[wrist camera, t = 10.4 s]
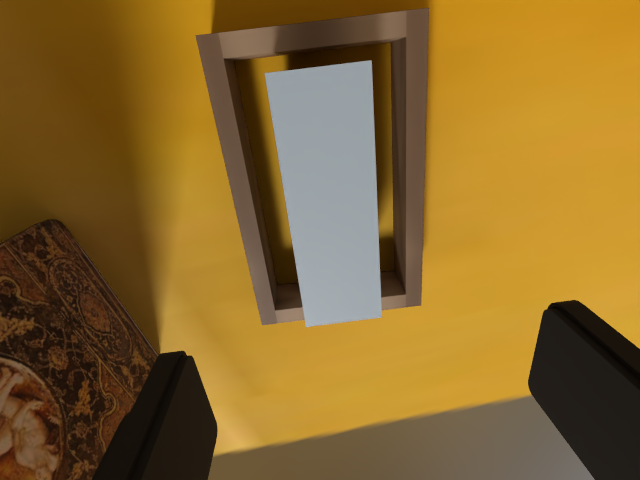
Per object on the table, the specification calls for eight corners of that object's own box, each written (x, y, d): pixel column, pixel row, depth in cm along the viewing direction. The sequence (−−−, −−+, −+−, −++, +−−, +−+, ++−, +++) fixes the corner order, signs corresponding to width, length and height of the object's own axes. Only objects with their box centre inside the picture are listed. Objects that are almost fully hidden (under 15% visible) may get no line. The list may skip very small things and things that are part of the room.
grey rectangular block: (271, 73, 20) (264, 73, 16) (356, 63, 20) (371, 60, 16) (304, 288, 26) (306, 326, 22) (368, 280, 27) (381, 317, 22)
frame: (265, 298, 30) (262, 325, 27) (210, 41, 21) (195, 35, 18) (407, 280, 30) (421, 305, 27) (409, 17, 21) (428, 7, 18)
